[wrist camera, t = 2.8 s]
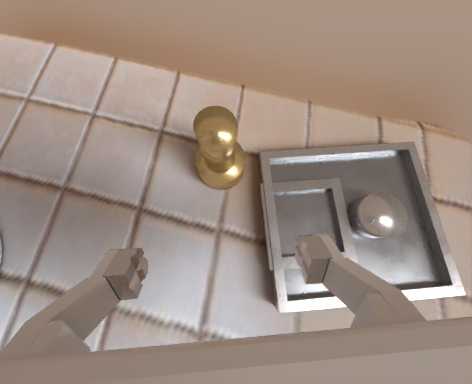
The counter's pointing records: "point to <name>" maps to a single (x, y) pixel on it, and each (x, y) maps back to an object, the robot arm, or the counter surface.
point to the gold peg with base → (218, 148)
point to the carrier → (354, 220)
